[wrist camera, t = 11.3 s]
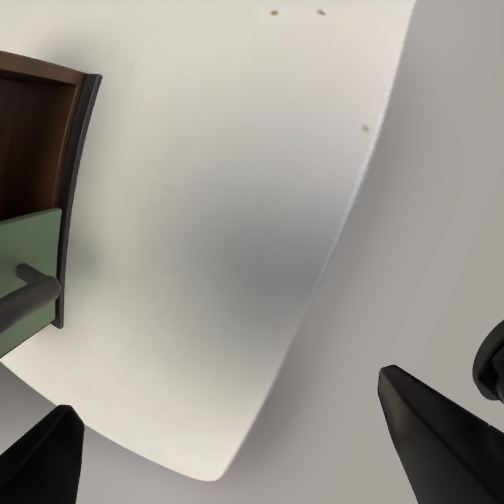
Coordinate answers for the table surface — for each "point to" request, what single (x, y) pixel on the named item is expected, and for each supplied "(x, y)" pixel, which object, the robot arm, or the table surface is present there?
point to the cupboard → (42, 143)
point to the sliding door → (28, 275)
